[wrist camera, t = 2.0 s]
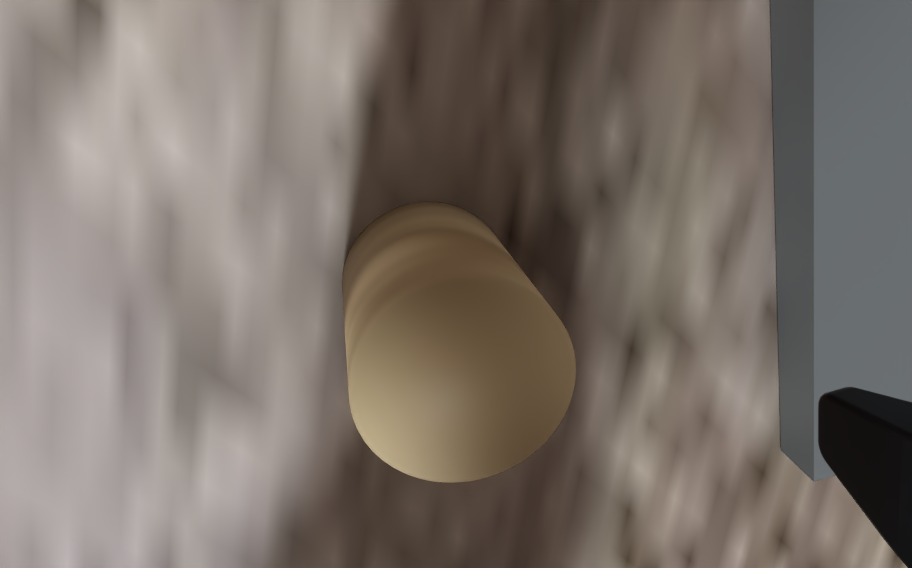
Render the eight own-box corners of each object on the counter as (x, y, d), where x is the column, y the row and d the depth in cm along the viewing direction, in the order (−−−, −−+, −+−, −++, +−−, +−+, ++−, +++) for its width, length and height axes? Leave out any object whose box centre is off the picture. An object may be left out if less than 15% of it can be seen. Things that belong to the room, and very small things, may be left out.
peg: (366, 376, 17) (381, 508, 12) (321, 226, 16) (319, 314, 11) (519, 334, 17) (589, 447, 13) (491, 183, 16) (558, 251, 11)
